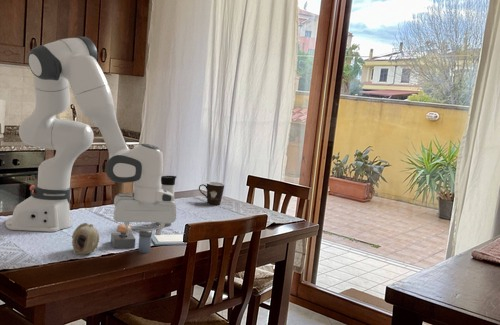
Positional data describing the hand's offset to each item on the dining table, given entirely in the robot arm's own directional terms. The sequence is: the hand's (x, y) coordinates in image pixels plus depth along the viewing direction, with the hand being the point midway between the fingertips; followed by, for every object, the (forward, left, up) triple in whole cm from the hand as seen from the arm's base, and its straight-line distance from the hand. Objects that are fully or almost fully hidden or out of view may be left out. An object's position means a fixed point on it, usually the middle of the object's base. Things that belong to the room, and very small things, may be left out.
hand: (143, 234), depth 173 cm
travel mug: (+15, +32, -6) cm, 36 cm away
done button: (-5, +8, -4) cm, 10 cm away
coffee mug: (+47, +68, -6) cm, 83 cm away
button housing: (-5, +8, -6) cm, 11 cm away
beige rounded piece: (-18, +1, -6) cm, 19 cm away
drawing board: (+13, +12, -6) cm, 19 cm away
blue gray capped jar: (+1, +1, -6) cm, 6 cm away
